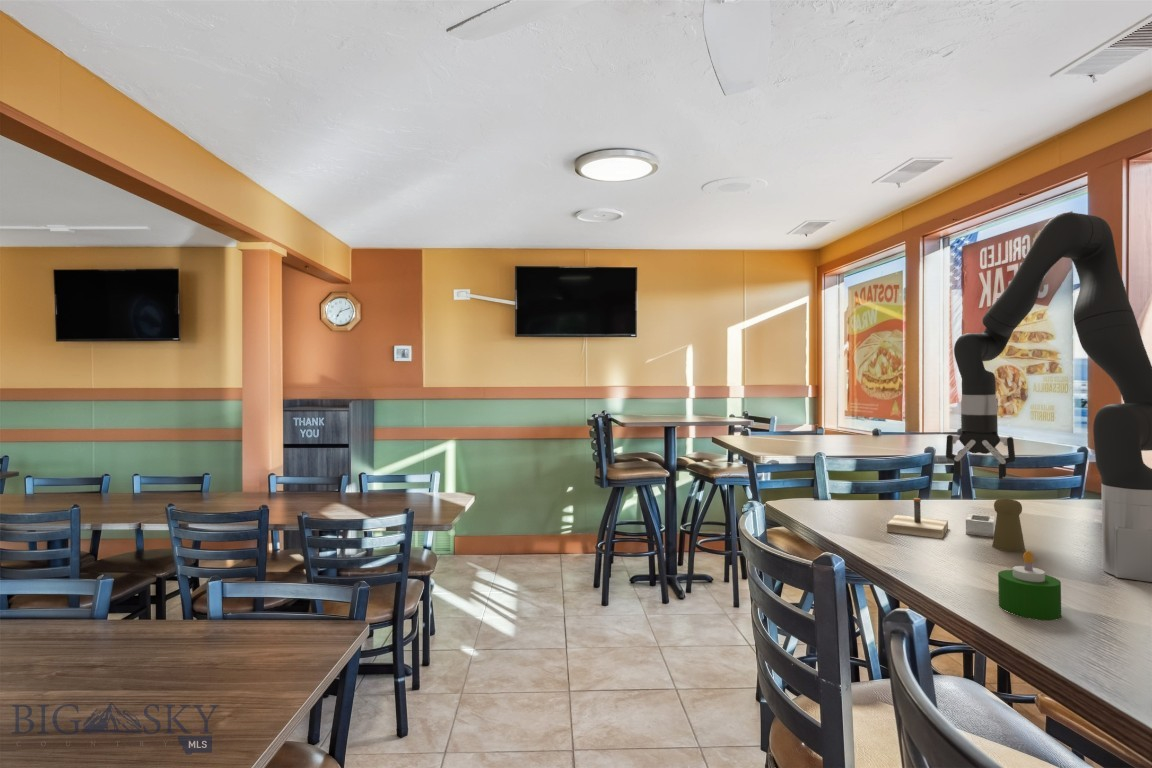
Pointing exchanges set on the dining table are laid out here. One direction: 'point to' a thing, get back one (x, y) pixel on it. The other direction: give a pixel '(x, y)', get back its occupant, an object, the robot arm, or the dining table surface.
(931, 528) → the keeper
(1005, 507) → the cork
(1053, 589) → the candle
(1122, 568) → the robot arm
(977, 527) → the white hollow block
